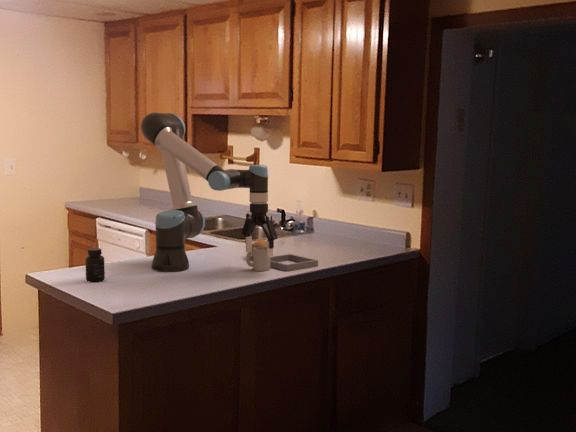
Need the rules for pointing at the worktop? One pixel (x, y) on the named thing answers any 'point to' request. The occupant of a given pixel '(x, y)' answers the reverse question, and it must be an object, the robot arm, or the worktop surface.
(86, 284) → the worktop surface
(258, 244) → the potato
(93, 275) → the supplement bottle
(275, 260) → the tray
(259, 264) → the cup
